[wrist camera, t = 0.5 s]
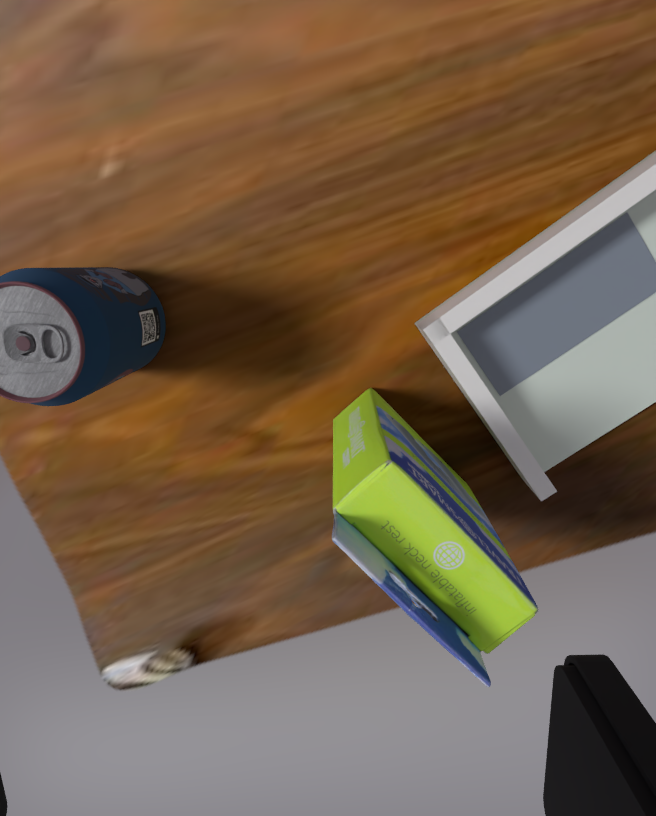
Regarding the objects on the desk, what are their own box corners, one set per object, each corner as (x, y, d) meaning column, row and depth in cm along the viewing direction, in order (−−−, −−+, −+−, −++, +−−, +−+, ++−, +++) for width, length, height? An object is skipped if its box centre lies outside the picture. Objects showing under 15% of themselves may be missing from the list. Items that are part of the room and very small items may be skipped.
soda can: (76, 368, 38) (-41, 414, 26) (65, 266, 36) (-66, 266, 24) (174, 370, 38) (101, 417, 26) (168, 268, 36) (87, 268, 24)
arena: (654, 151, 33) (693, 136, 30) (753, 332, 36) (800, 340, 32) (414, 323, 36) (422, 329, 33) (522, 479, 39) (541, 501, 35)
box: (469, 481, 39) (566, 640, 23) (427, 517, 40) (491, 696, 23) (369, 380, 38) (395, 472, 21) (328, 420, 38) (320, 538, 22)
